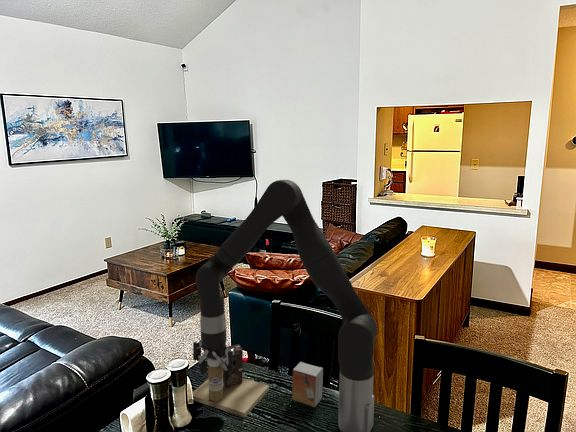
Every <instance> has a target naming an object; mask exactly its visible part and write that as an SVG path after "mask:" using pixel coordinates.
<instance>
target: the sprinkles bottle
mask: <svg viewBox="0 0 576 432" xmlns="http://www.w3.org/2000/svg"><path fill="white" fill-rule="evenodd" d="M221 359H222V360H223V357H222V358H221ZM206 361H207V373H208V376H207V377H208V378H207V380H208V381H209V399H210V400H212V401H219V400H221V399H222V398H223V371H222V365H220V364H219V362H218V361H217V360H214V359H211V358H208V357H207V359H206Z"/></svg>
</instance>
